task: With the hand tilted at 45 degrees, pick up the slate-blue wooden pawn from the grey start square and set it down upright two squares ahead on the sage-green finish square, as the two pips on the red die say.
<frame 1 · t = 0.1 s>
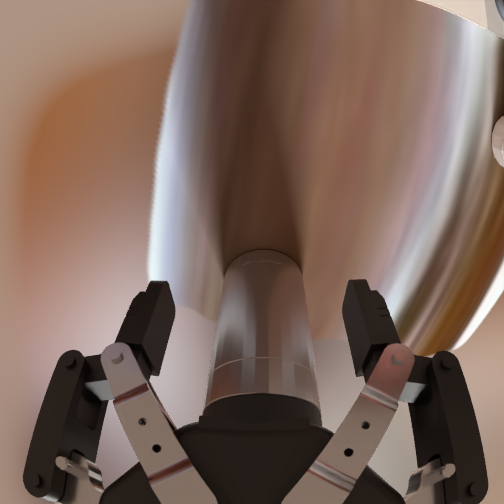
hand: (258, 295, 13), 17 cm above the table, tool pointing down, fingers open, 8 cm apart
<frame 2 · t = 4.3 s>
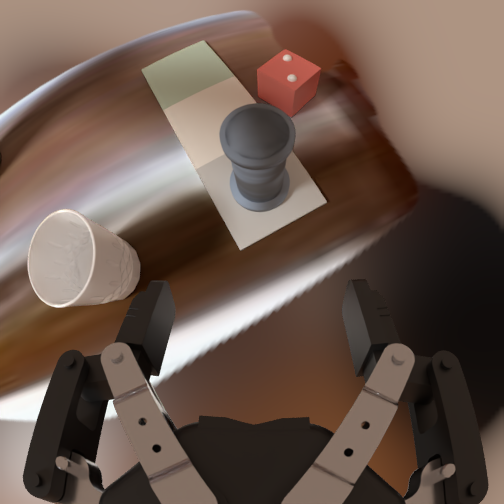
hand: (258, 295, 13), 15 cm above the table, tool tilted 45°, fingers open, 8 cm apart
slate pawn: (259, 184, 29), resting on game track
white cup: (115, 270, 29), on the table
red die: (287, 95, 31), on the table
game track: (216, 119, 31), on the table
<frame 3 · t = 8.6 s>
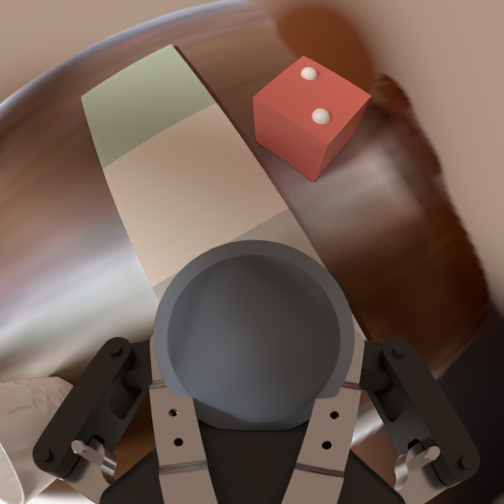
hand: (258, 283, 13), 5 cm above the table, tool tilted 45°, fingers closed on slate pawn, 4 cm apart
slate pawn: (259, 319, 17), resting on game track, touching gripper
white cup: (65, 413, 17), on the table
red die: (305, 137, 19), on the table
game track: (185, 186, 19), on the table
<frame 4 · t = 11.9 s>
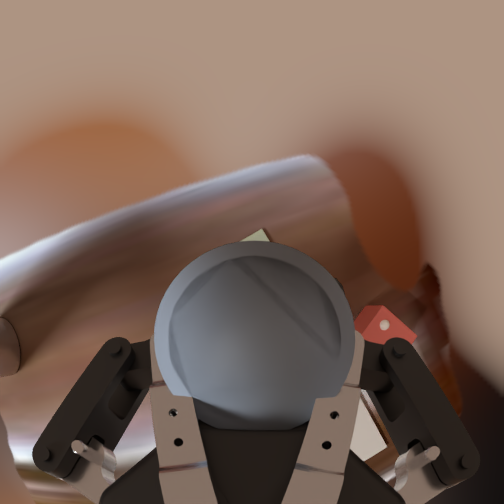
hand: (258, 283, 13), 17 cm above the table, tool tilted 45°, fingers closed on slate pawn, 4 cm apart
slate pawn: (260, 319, 17), point 13 cm above the table, touching gripper
red die: (368, 337, 29), on the table
game track: (292, 374, 28), on the table
when the fingers open (6 cm above the table, at t = 15.5 s): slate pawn drops 1 cm, resting on game track.
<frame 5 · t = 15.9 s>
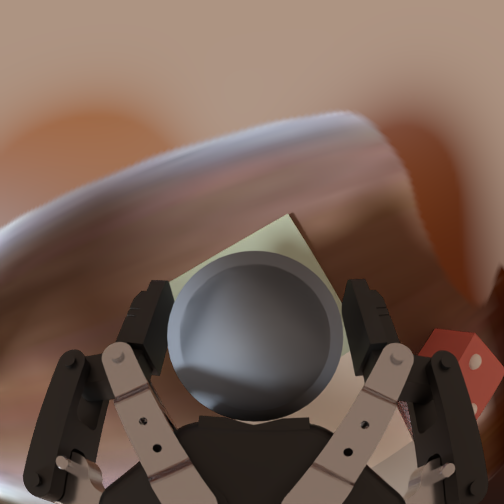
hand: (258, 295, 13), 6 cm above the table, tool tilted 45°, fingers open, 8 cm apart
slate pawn: (260, 318, 18), resting on game track
red die: (435, 372, 17), on the table
game track: (330, 432, 17), on the table
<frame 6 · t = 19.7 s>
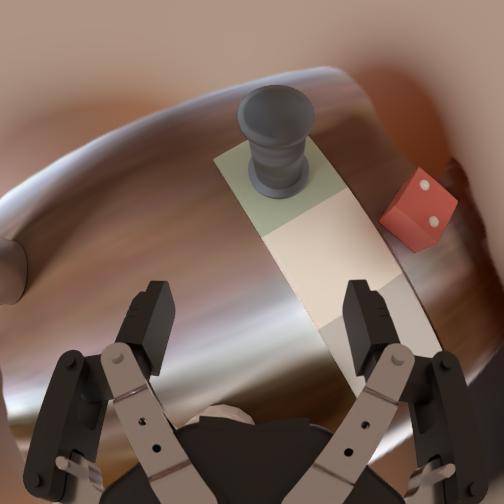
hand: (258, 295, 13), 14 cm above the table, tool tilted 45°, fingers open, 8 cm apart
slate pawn: (278, 171, 28), resting on game track
white cup: (225, 432, 25), on the table
red die: (408, 218, 27), on the table
game track: (334, 256, 27), on the table
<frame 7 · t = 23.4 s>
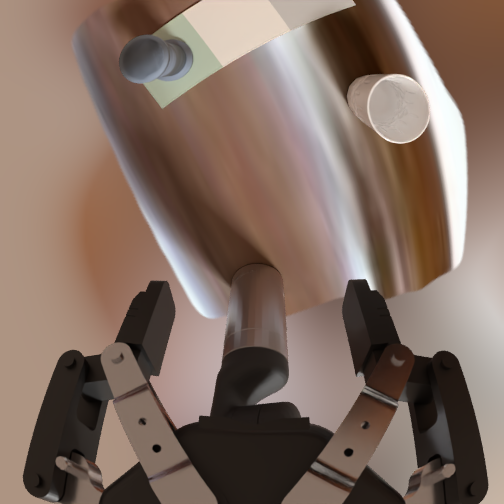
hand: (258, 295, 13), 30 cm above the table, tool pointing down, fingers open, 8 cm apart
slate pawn: (171, 60, 30), resting on game track
white cup: (369, 98, 33), on the table
game track: (235, 19, 28), on the table
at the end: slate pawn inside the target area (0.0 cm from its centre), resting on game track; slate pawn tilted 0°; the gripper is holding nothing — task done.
